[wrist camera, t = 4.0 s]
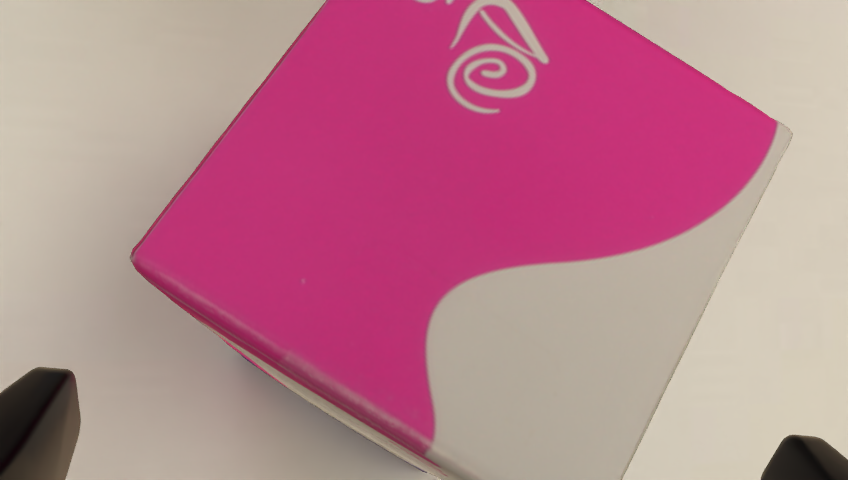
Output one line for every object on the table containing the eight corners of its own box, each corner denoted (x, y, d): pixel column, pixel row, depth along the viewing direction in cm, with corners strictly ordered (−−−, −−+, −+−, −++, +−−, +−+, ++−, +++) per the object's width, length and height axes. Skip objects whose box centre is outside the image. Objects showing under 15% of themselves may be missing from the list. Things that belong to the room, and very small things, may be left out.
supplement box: (544, 276, 20) (823, 134, 9) (426, 477, 19) (583, 599, 8) (359, 156, 20) (409, -136, 9) (226, 349, 19) (94, 285, 8)
